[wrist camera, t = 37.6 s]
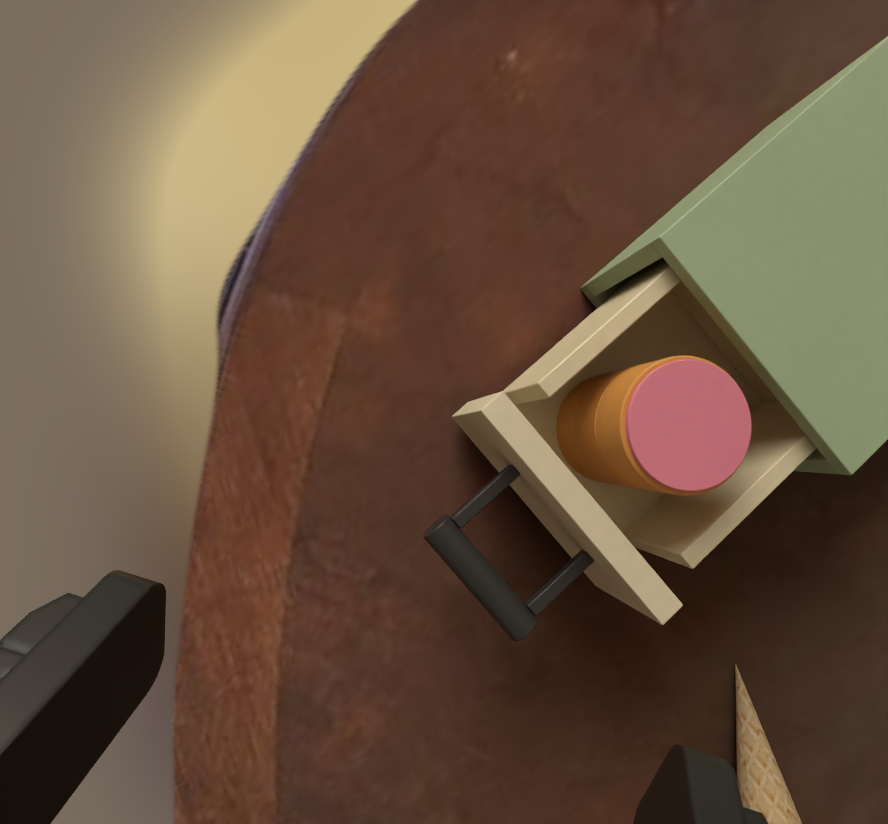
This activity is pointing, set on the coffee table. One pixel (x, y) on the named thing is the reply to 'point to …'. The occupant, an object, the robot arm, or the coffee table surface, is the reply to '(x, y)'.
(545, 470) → the drawer
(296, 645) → the coffee table surface
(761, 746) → the ice cream cone
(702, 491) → the pink-topped orange cylinder
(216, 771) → the coffee table surface
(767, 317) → the cabinet
